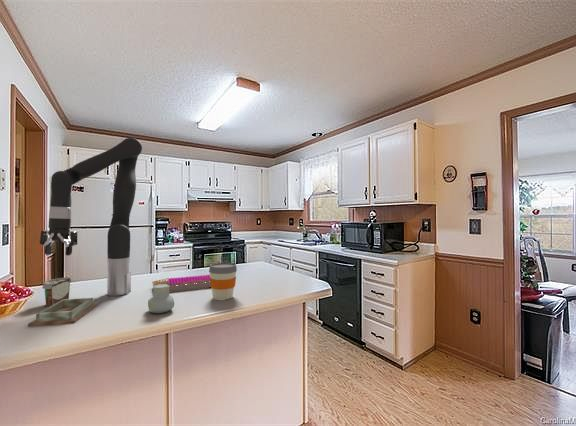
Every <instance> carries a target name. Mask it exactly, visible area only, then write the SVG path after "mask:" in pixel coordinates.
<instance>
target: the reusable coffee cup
mask: <svg viewBox="0 0 576 426" xmlns="http://www.w3.org/2000/svg"><path fill="white" fill-rule="evenodd" d="M237 271H238V270H237V264H236V263H233V262H217V263H211V264H209V271H208V272H209V274H210V285H211V288H210V289H211V293H212V299H213V298H214V299H213V300H215V299H219V300H218V301H223V300H222V299H228V300H230V299H229V298H231V297H232V298H233V296H234V289H235V286H236V280H237V276H236V275H237V274H236V273H237ZM232 298H231V299H232Z"/></svg>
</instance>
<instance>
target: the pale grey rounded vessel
mask: <svg viewBox="0 0 576 426" xmlns="http://www.w3.org/2000/svg"><path fill="white" fill-rule="evenodd" d="M147 306H148V307H147V308H148V310H149V312H150V313H153V314H162V313H166V312H169V311H172V309H174V307H175V299H174V297H173V296H172V295H170V292H169V285H167V284H161V285H156V286H154V287H153V286H152V297H150V298H149V299H148V301H147Z"/></svg>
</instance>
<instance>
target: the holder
mask: <svg viewBox="0 0 576 426" xmlns="http://www.w3.org/2000/svg"><path fill="white" fill-rule="evenodd" d="M99 304H100V302H94V297H86V298H84V297H83V298H82V297H81V298H69V299H63V300H61V301H59V302H57V303H55V304H53V305H52V306H50V307H46V308H44V309H42V310H41V311H39V312H37V313H35V314H36V315H35V319H34V320H32V321H29V322H28V323H27V326H28V327H33V326H34V327H35V326H50V325H62V324H75V323H77V322H78V321H79V320H81V319H82V318H83V317H85V316H86V315H88V313H90V312H91V311H93V310H94V309H95V308H96V307H99V306H100V305H99Z"/></svg>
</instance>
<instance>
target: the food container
mask: <svg viewBox="0 0 576 426" xmlns="http://www.w3.org/2000/svg"><path fill="white" fill-rule="evenodd" d="M71 282H72V279H71V277H58V278H54V279H52V278H51V279H48V280H45V281H44V282H43V284H42V287H41V288H42V289H44V297H45V299H44V300H45V307H46V308H48V307H50V306H52V305H53V304H55V303H57V302H59V301H61V300H63V299H70V289H71V287H70V286H71Z"/></svg>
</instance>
